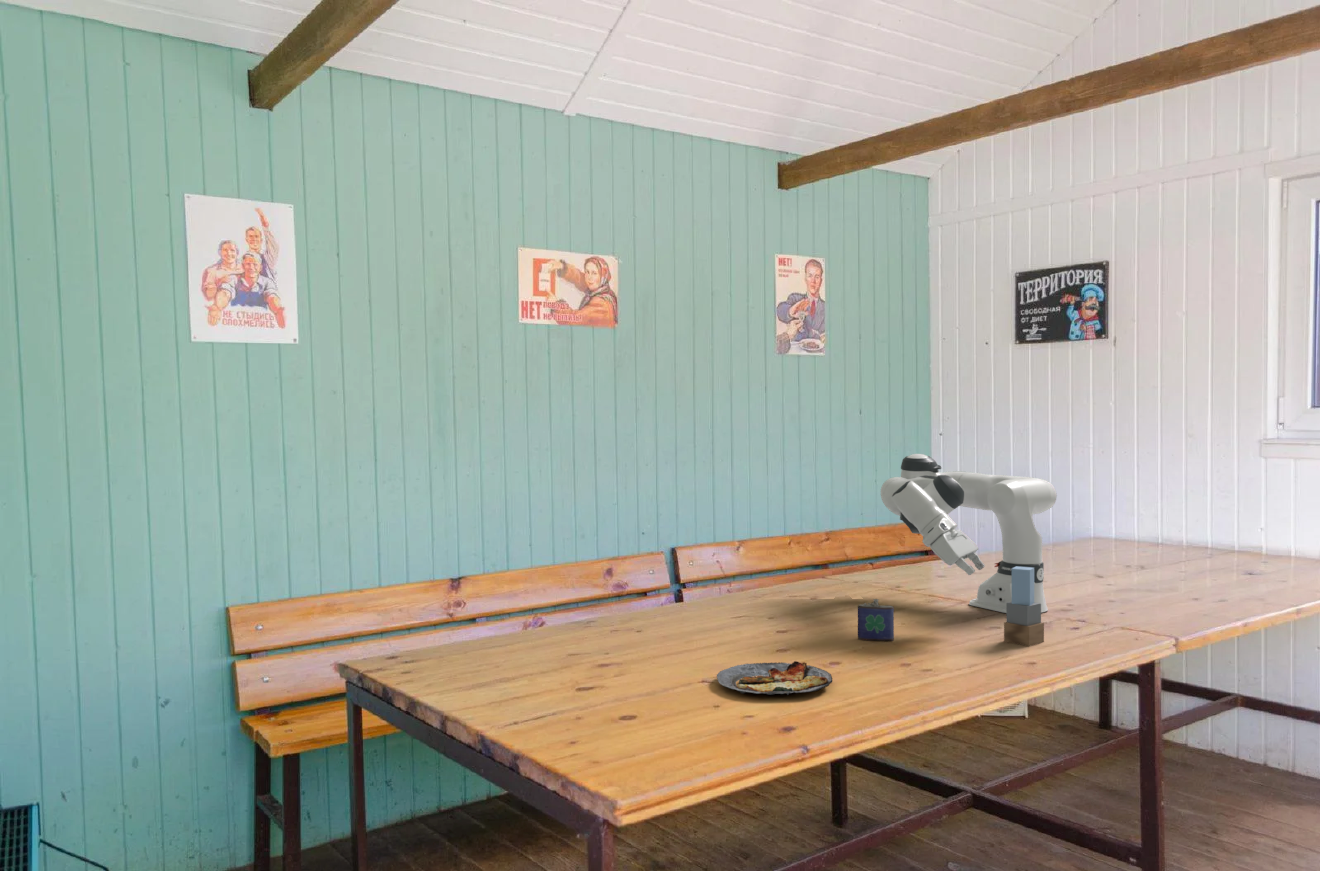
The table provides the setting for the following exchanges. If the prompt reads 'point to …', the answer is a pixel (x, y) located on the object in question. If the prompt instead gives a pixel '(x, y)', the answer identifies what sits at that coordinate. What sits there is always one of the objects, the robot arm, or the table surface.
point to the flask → (875, 622)
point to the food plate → (775, 678)
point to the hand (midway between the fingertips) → (977, 570)
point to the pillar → (1023, 585)
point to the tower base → (1024, 633)
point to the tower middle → (1023, 614)
